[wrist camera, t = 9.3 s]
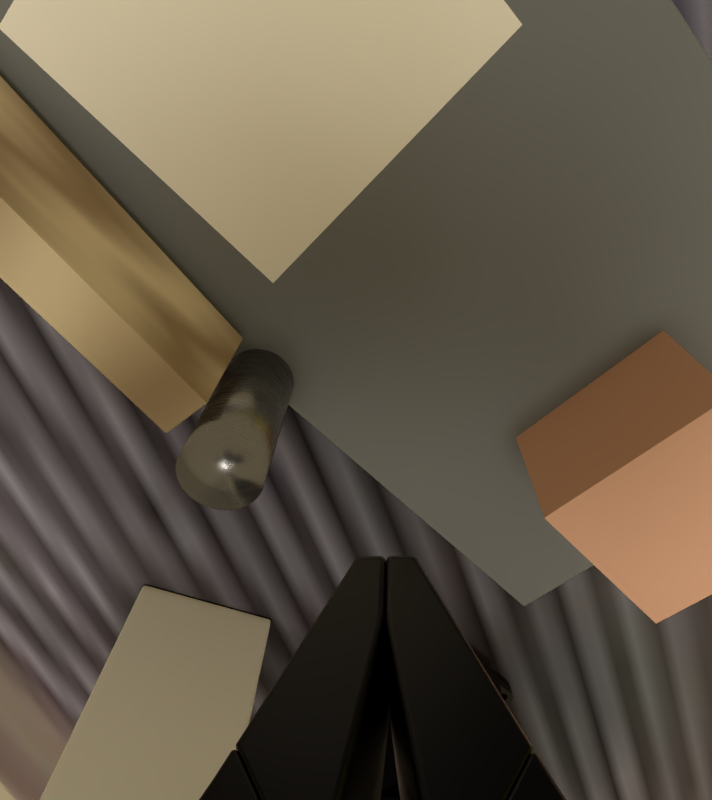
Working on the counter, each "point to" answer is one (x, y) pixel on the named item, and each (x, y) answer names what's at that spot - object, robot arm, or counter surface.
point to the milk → (164, 703)
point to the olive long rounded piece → (237, 432)
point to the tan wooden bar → (103, 275)
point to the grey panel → (408, 211)
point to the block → (634, 475)
